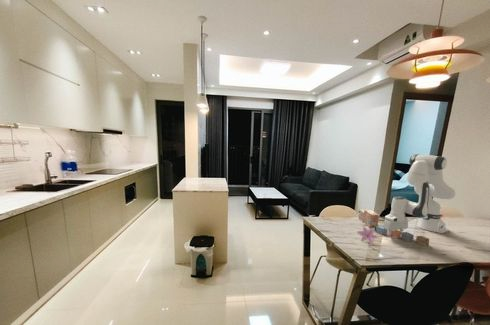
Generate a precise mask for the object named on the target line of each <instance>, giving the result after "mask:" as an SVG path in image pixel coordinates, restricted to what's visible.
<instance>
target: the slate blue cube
mask: <svg viewBox="0 0 490 325" xmlns="http://www.w3.org/2000/svg"><path fill="white" fill-rule="evenodd" d="M375 232H376V233H377V234H379V235H381V236H383V235H388V230H386V229H384V225H378V226H377V229H376V230H375Z"/></svg>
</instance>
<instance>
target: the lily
mask: <svg viewBox="0 0 490 325" xmlns="http://www.w3.org/2000/svg"><path fill="white" fill-rule="evenodd" d="M375 231H376V230H375V228H369V229H368V228H366V227H365V226H363V228H362V230H359V231H356V234H358V235H360V236H361V240H360V241H361V242H364V241H365V242H366V241H367V242H368V243H369V244H370V245H374V243H373V242H374V239H379V237H378V236H377V235H375V234H374V233H375Z"/></svg>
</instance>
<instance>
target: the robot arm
mask: <svg viewBox="0 0 490 325" xmlns="http://www.w3.org/2000/svg"><path fill="white" fill-rule="evenodd" d="M447 164H448V163H447V158H446V157H444V156H442V155H441V156H440V155H439V156H436V155H432V154H413V155H412V156H410V157H409V165H410V168H409V170H408V173H407V177H406V179H407V182H408V184H409V185H411V186H413V187H414V192H415V194H416V195H418V201H417V202H415V201H411V200H408V199H407V198H406V197H405V196H401V195H397V196H394V197H393V198H392V200H391V205H390V206H391V210H390V213H389V214H387V215H385V216H384V221H383V227H384V229H386V230H387V233H388V235H392V233H391V231H392V230H398V231H401V234H402V232H404V230H407V229H408V228H409V221H408V217H407V216H406V214H408V215H411V216H414V217H416V218H418V221H417V222H416V225H417V227H418V228H420V229H422V230H425V231H429V232H435V233H438V234H444V233H447V232H449V231H450V228H447V227H446V225H447V224H446V222H445V221H443V220H442V219H441V218H442V217H444V214H441V208H442V207H441V204H440V203H439V202H437V201H435V200H434V199H433V198H436V199H440V200H452V199H454V198H455V196H456V191H455V189H454V188H453V187H451V186H450V185H449V184H447V183H446V182H445V180H444V176H443V170H444V169H445V168H446V166H447Z"/></svg>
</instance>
